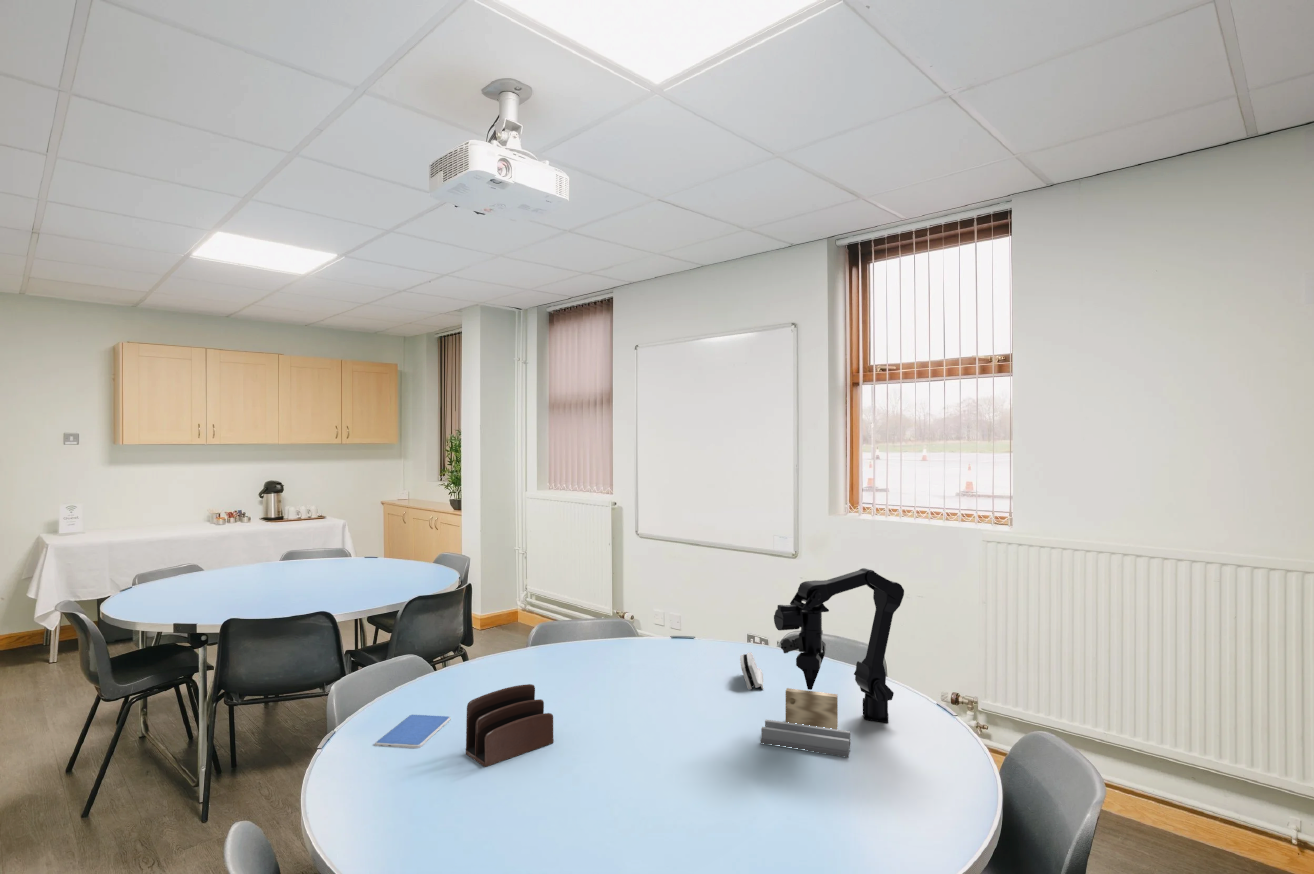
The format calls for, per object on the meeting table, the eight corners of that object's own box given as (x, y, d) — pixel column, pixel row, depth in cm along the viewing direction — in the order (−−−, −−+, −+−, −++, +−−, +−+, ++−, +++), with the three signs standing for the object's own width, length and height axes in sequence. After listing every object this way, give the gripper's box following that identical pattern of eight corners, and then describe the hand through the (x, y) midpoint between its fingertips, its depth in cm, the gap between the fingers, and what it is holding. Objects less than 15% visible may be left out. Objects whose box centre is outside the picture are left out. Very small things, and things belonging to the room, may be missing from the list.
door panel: (837, 727, 181) (837, 694, 181) (836, 731, 178) (836, 698, 178) (786, 720, 186) (786, 688, 186) (785, 724, 183) (785, 691, 183)
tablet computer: (419, 750, 165) (419, 745, 165) (372, 747, 167) (372, 742, 167) (452, 720, 184) (452, 716, 185) (410, 718, 186) (410, 713, 186)
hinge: (764, 690, 209) (753, 660, 210) (749, 694, 210) (739, 664, 211) (762, 673, 226) (753, 646, 227) (750, 677, 227) (740, 650, 227)
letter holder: (464, 754, 162) (465, 697, 163) (532, 732, 176) (533, 679, 177) (484, 768, 155) (485, 708, 156) (554, 743, 169) (554, 688, 170)
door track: (850, 742, 170) (850, 729, 171) (848, 757, 162) (848, 743, 162) (766, 730, 178) (766, 717, 178) (760, 743, 169) (760, 730, 170)
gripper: (787, 618, 195) (787, 670, 194) (777, 633, 177) (777, 691, 177) (825, 621, 191) (826, 675, 190) (819, 637, 173) (819, 696, 173)
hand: (811, 684), depth 183 cm, fingers open, 9 cm apart
